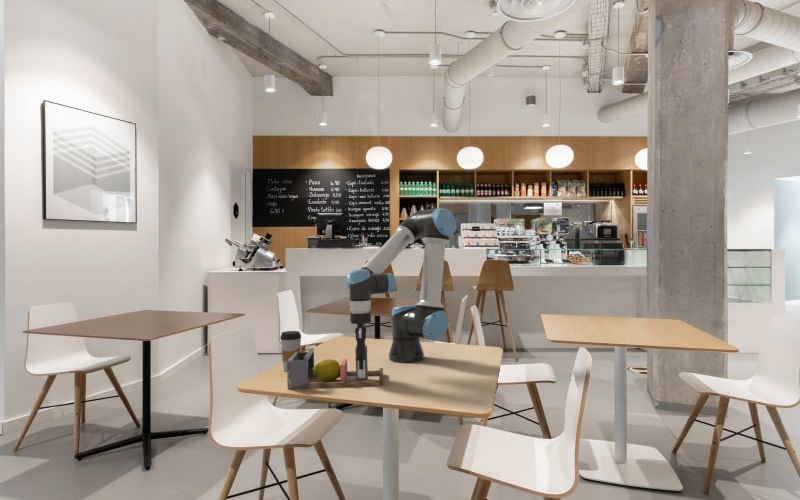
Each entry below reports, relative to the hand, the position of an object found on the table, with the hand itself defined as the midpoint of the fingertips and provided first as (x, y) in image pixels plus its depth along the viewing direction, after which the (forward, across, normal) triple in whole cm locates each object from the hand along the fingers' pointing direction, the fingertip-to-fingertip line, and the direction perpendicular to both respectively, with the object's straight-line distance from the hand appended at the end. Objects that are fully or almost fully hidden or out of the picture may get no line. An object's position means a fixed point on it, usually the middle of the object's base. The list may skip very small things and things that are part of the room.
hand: (361, 375), depth 174 cm
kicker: (+1, 0, -3) cm, 3 cm away
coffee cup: (+2, -20, -29) cm, 35 cm away
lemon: (+2, 0, -12) cm, 13 cm away
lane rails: (+2, 0, -5) cm, 6 cm away
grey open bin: (+2, 0, -22) cm, 22 cm away
